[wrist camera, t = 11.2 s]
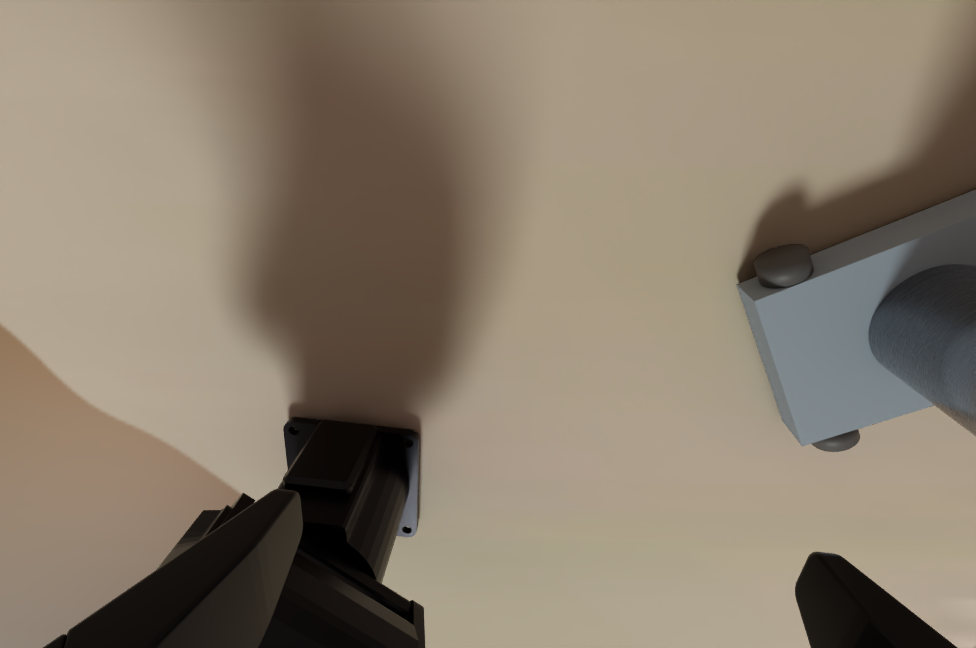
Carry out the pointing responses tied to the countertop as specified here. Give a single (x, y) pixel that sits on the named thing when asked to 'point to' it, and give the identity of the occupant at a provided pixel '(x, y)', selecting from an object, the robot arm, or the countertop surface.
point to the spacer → (932, 338)
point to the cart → (845, 320)
